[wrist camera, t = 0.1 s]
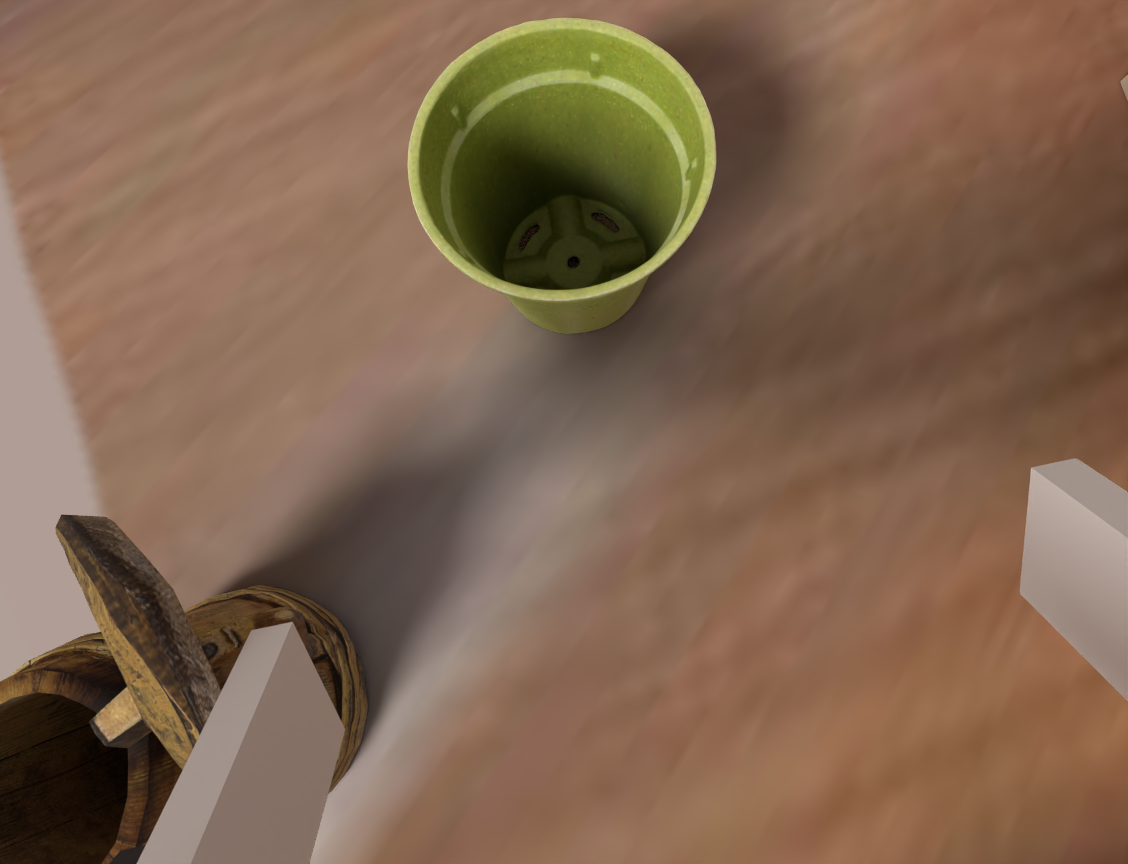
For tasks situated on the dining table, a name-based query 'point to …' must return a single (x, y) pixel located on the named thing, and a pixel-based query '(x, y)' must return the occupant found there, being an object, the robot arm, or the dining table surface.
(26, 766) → the wooden mug
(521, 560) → the dining table surface
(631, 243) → the plant pot
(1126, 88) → the bridge
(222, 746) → the robot arm
